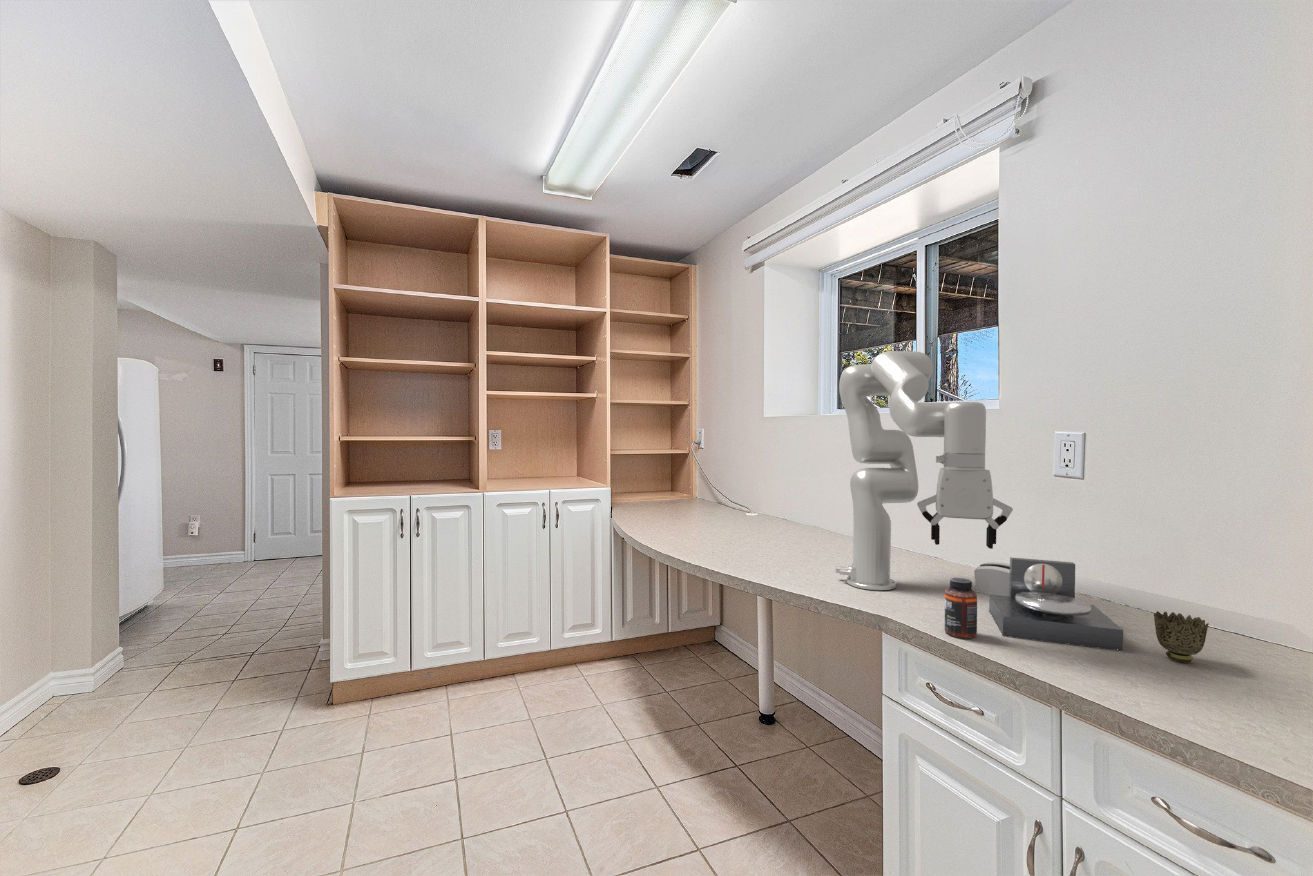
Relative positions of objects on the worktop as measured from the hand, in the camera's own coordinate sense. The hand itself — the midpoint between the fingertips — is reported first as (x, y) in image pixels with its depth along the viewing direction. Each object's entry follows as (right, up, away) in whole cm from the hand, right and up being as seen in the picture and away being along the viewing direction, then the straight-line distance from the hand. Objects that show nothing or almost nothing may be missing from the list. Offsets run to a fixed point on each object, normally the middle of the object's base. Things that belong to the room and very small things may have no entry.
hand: (962, 545), depth 118 cm
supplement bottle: (0, -19, 0) cm, 19 cm away
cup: (+34, -19, -12) cm, 40 cm away
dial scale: (+21, -19, +4) cm, 28 cm away
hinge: (+25, -19, +25) cm, 40 cm away
